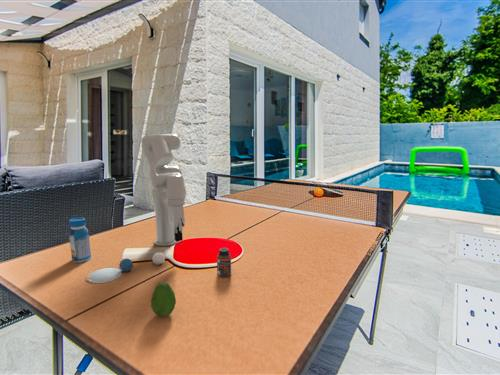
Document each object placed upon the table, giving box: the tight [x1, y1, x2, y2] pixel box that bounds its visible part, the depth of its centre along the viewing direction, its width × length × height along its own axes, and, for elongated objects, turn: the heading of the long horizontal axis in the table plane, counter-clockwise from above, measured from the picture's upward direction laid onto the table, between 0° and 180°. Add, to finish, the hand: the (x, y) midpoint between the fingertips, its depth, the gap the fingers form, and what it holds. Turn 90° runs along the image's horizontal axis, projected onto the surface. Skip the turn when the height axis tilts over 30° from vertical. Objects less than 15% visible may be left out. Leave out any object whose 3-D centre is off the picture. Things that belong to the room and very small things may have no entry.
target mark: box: [85, 267, 123, 284], centre depth 137 cm, size 14×14×1 cm
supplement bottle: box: [216, 247, 232, 278], centre depth 135 cm, size 6×6×11 cm
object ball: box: [119, 258, 134, 273], centre depth 140 cm, size 6×6×6 cm
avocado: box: [150, 281, 177, 318], centre depth 107 cm, size 8×8×12 cm
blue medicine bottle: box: [68, 216, 92, 263], centre depth 151 cm, size 8×8×20 cm
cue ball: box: [152, 252, 166, 266], centre depth 147 cm, size 6×6×6 cm
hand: (178, 240), depth 149 cm, fingers closed
